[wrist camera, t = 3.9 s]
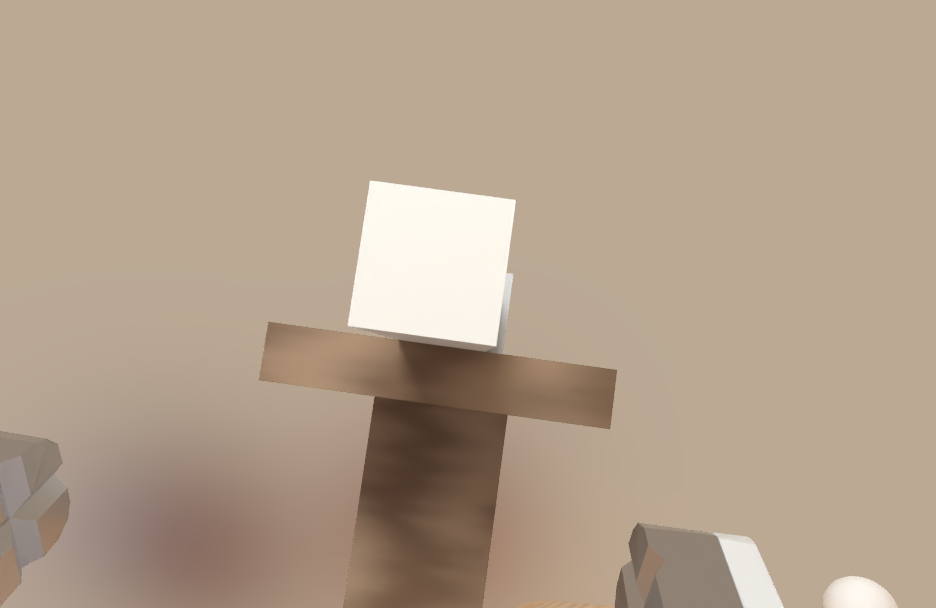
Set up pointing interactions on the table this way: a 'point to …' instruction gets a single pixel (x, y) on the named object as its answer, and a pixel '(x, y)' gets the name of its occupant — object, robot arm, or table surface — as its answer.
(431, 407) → the wooden i-beam block
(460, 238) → the bar
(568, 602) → the table surface
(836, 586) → the lightbulb
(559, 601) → the table surface
